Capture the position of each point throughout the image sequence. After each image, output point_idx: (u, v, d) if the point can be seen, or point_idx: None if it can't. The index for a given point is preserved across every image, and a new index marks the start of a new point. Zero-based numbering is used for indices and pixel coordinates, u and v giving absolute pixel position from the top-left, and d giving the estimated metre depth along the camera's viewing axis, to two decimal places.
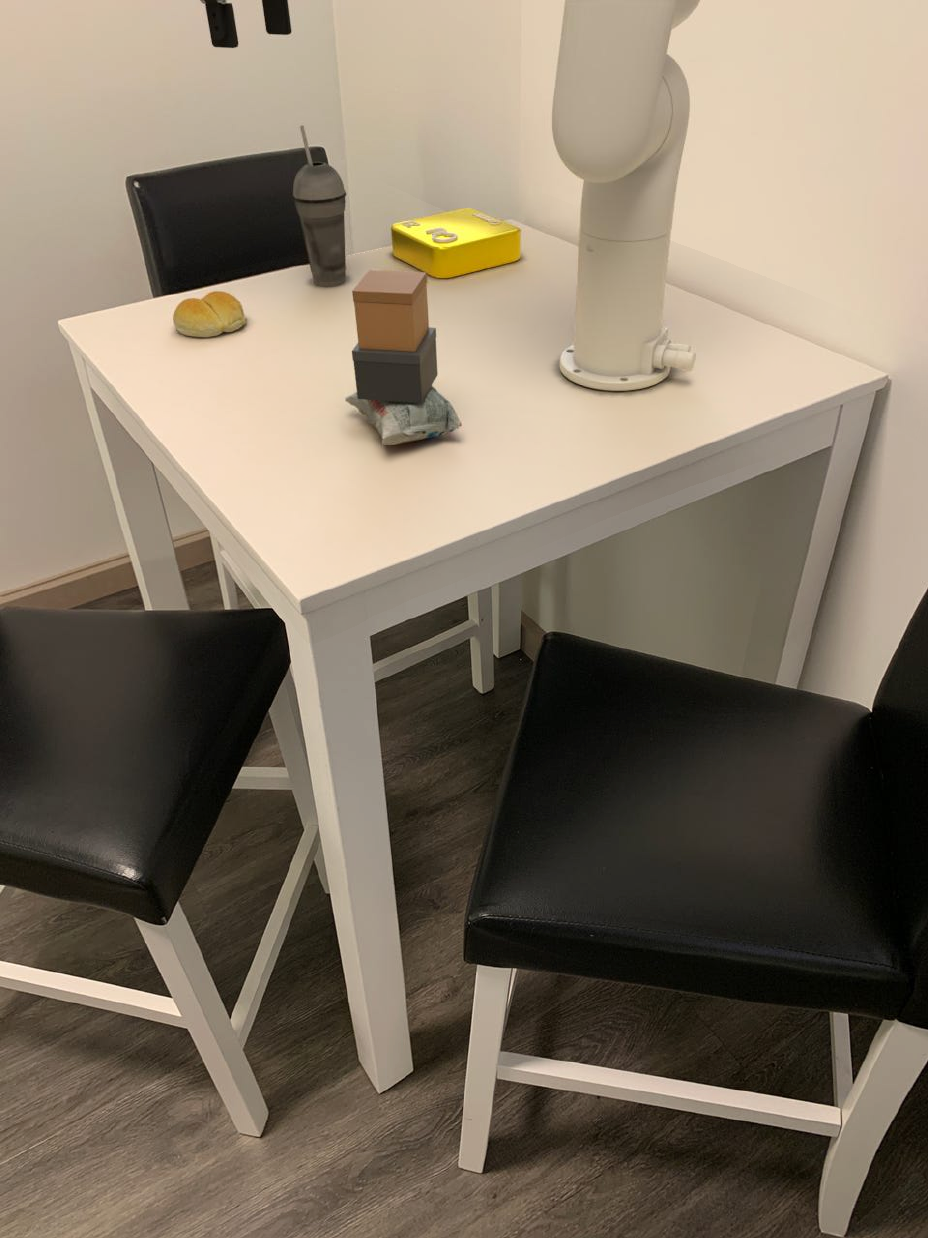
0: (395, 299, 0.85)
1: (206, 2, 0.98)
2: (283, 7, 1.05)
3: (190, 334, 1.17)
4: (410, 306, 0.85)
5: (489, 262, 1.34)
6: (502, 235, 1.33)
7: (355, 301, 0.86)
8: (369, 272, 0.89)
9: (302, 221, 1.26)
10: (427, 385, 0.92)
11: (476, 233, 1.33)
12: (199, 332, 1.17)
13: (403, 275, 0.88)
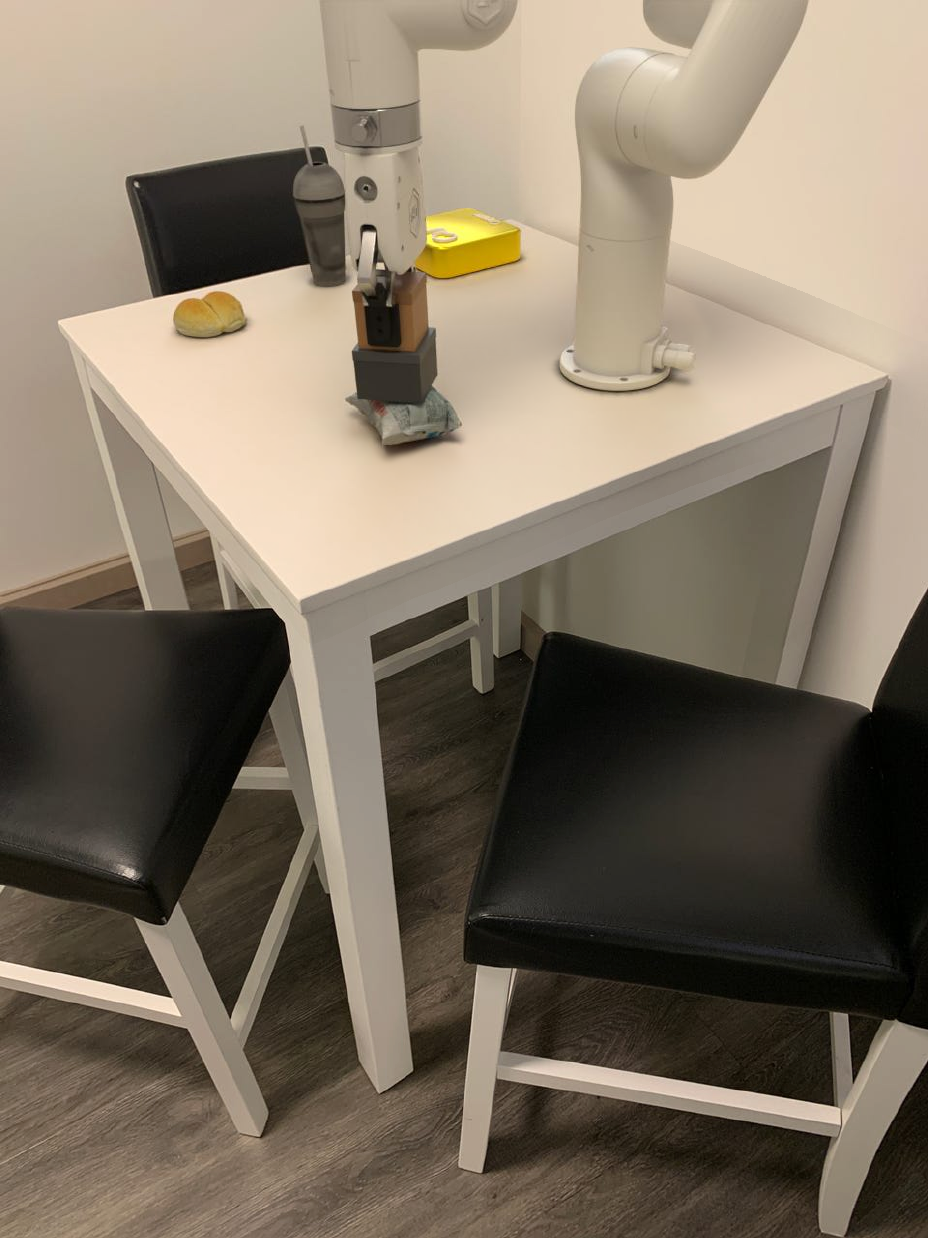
0: (395, 299, 0.85)
1: (369, 306, 0.85)
2: None
3: (190, 334, 1.17)
4: (410, 306, 0.85)
5: (489, 262, 1.34)
6: (502, 235, 1.33)
7: (355, 301, 0.86)
8: None
9: (302, 221, 1.26)
10: (427, 385, 0.92)
11: (476, 233, 1.33)
12: (199, 332, 1.17)
13: (403, 275, 0.88)
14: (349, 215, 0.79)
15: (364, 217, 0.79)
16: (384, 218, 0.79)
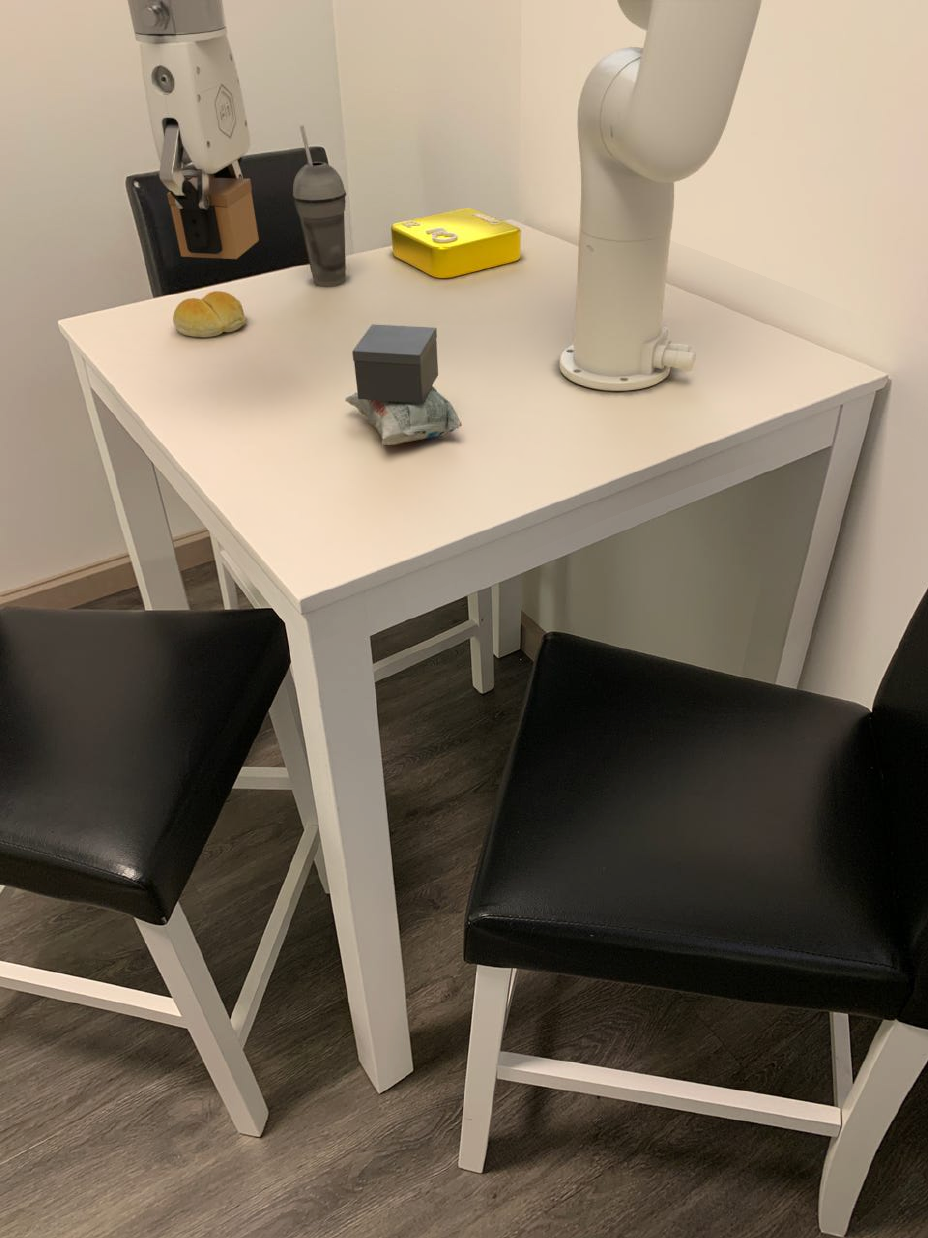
0: (210, 201, 0.83)
1: (183, 208, 0.83)
2: None
3: (190, 334, 1.17)
4: (226, 208, 0.83)
5: (489, 261, 1.34)
6: (502, 235, 1.33)
7: (171, 204, 0.84)
8: (192, 178, 0.87)
9: (302, 221, 1.26)
10: (428, 385, 0.92)
11: (476, 233, 1.33)
12: (199, 332, 1.17)
13: (225, 180, 0.86)
14: (150, 108, 0.77)
15: (164, 110, 0.77)
16: (184, 111, 0.77)
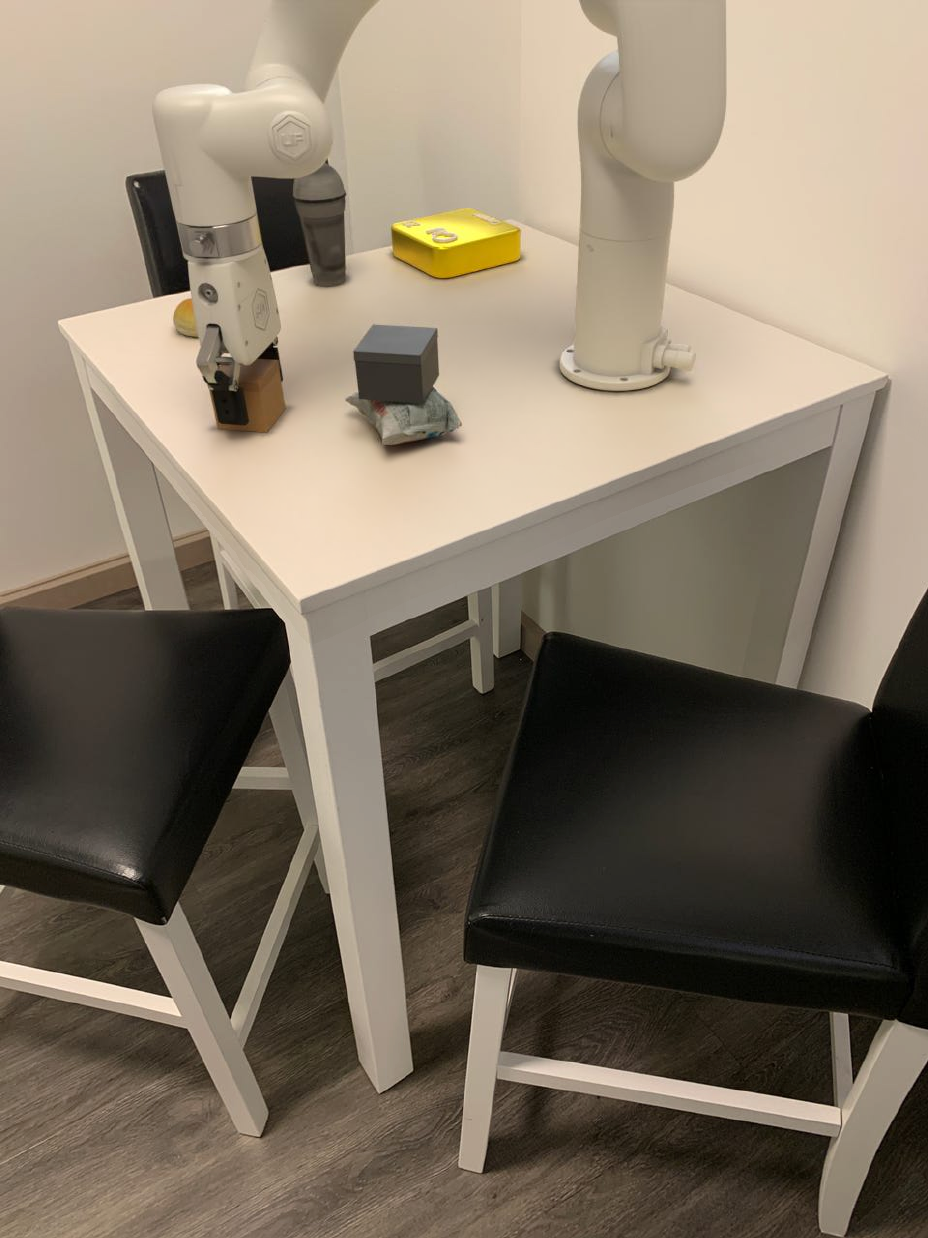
0: (245, 387, 0.95)
1: (215, 390, 0.92)
2: None
3: (190, 334, 1.17)
4: (258, 393, 0.95)
5: (489, 261, 1.34)
6: (502, 235, 1.33)
7: None
8: None
9: (302, 221, 1.26)
10: (428, 385, 0.92)
11: (476, 233, 1.33)
12: None
13: (256, 363, 0.98)
14: (196, 315, 0.89)
15: (209, 317, 0.88)
16: (226, 318, 0.88)
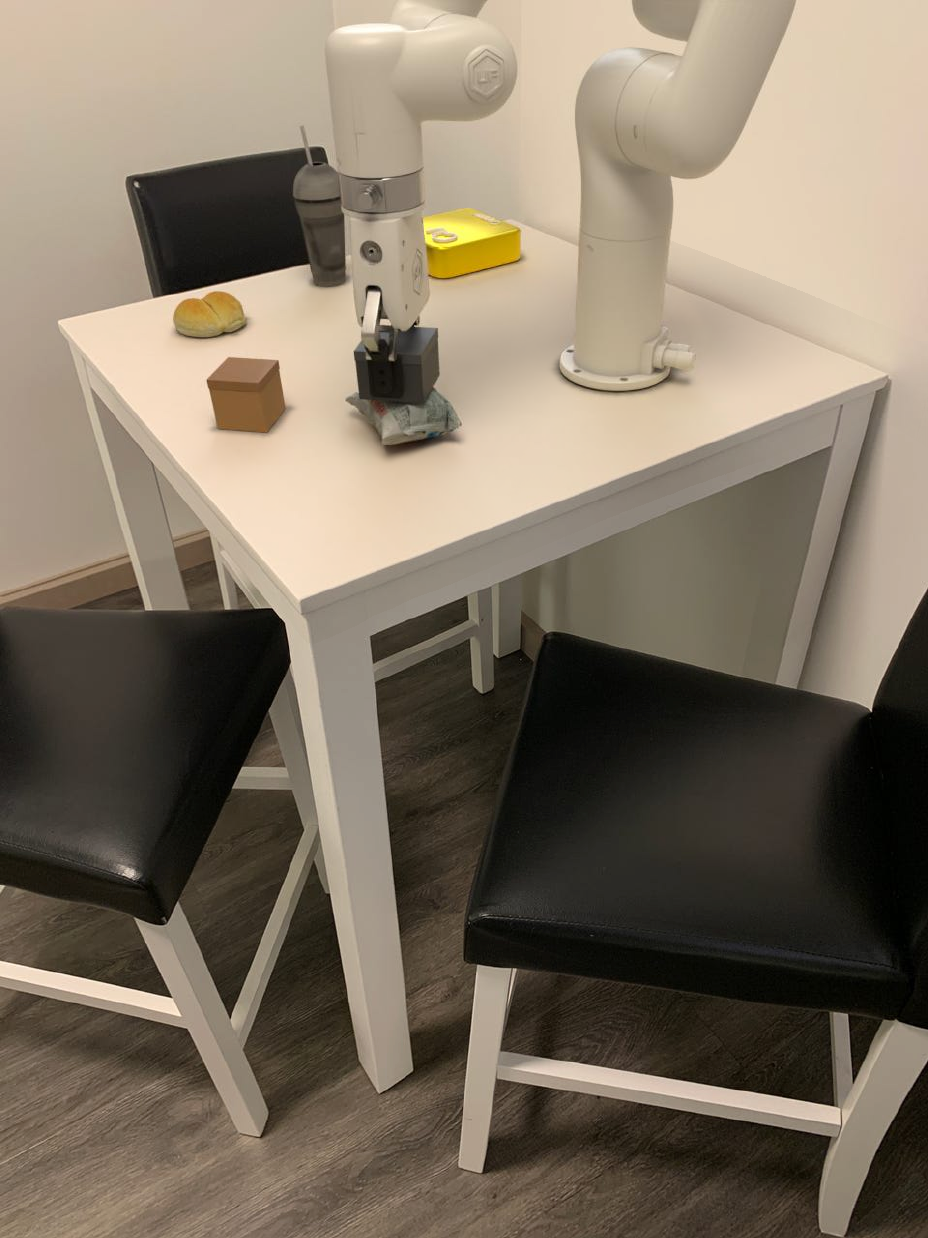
0: (245, 387, 0.95)
1: (372, 360, 0.87)
2: None
3: (190, 334, 1.17)
4: (258, 393, 0.95)
5: (489, 261, 1.34)
6: (502, 235, 1.33)
7: (210, 388, 0.95)
8: (227, 359, 0.99)
9: (302, 221, 1.26)
10: (429, 385, 0.92)
11: (476, 233, 1.33)
12: (199, 332, 1.17)
13: (256, 363, 0.98)
14: (355, 276, 0.83)
15: (369, 278, 0.82)
16: (389, 279, 0.82)
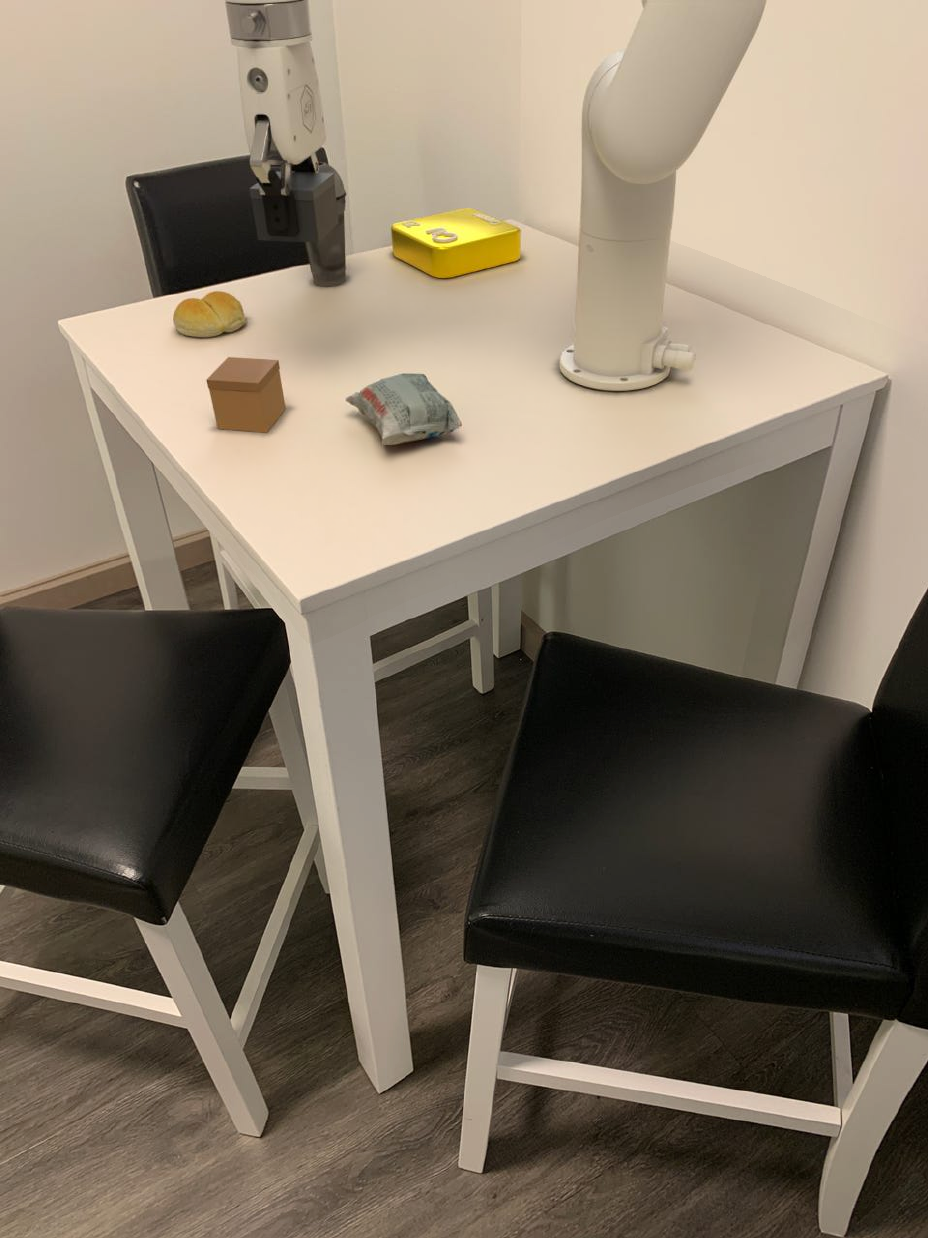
0: (245, 387, 0.95)
1: (266, 195, 0.92)
2: None
3: (190, 334, 1.17)
4: (258, 393, 0.95)
5: (489, 261, 1.34)
6: (502, 235, 1.33)
7: (210, 388, 0.95)
8: (227, 359, 0.99)
9: None
10: (325, 227, 0.96)
11: (476, 233, 1.33)
12: (199, 332, 1.17)
13: (256, 363, 0.98)
14: (244, 106, 0.87)
15: (257, 107, 0.86)
16: (275, 108, 0.86)
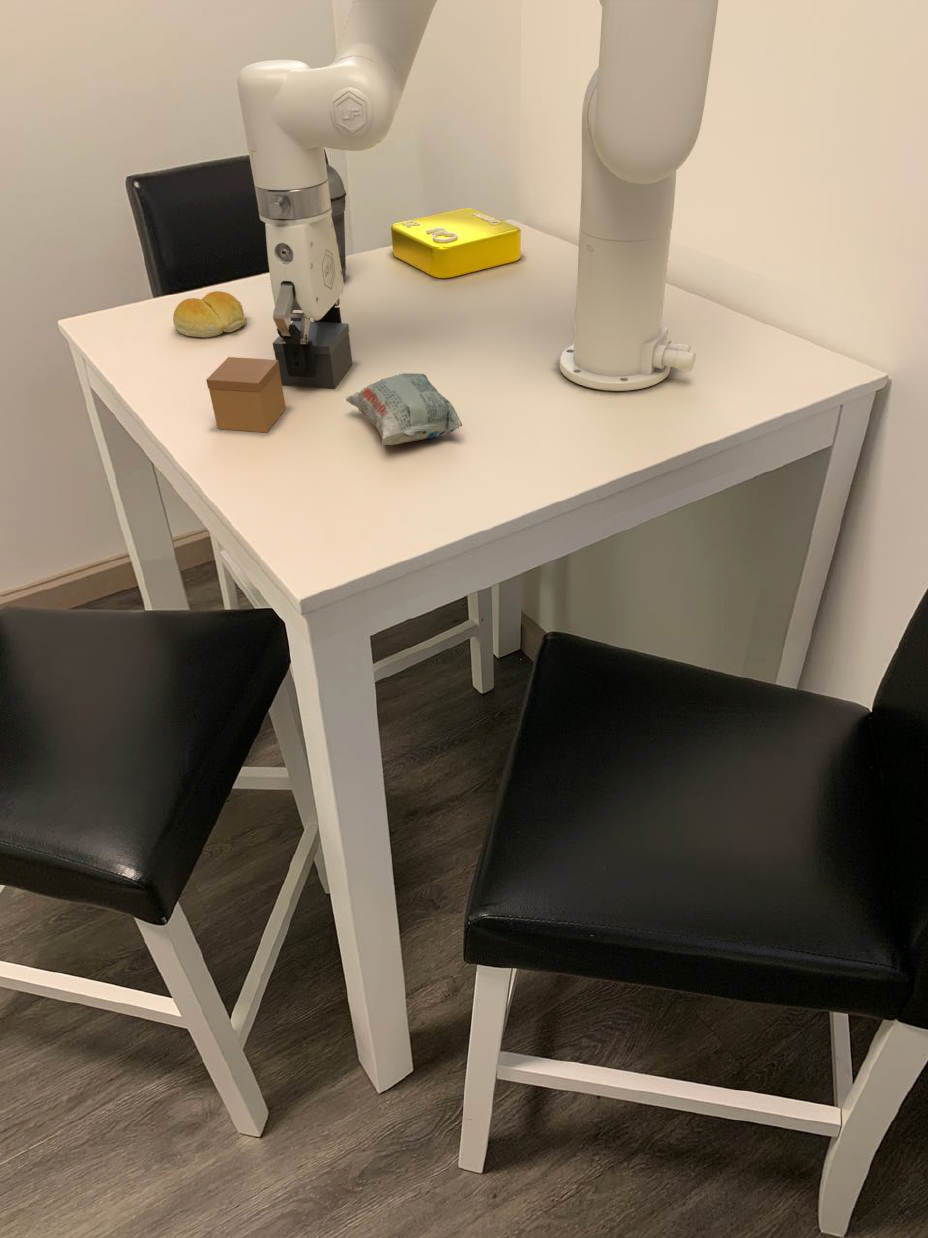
0: (245, 387, 0.95)
1: (286, 343, 1.00)
2: (337, 321, 1.08)
3: (190, 334, 1.17)
4: (258, 393, 0.95)
5: (489, 261, 1.34)
6: (502, 235, 1.33)
7: (210, 388, 0.95)
8: (227, 359, 0.99)
9: None
10: (340, 373, 1.06)
11: (476, 233, 1.33)
12: (199, 332, 1.17)
13: (256, 363, 0.98)
14: (272, 273, 0.97)
15: (284, 275, 0.96)
16: (300, 276, 0.96)
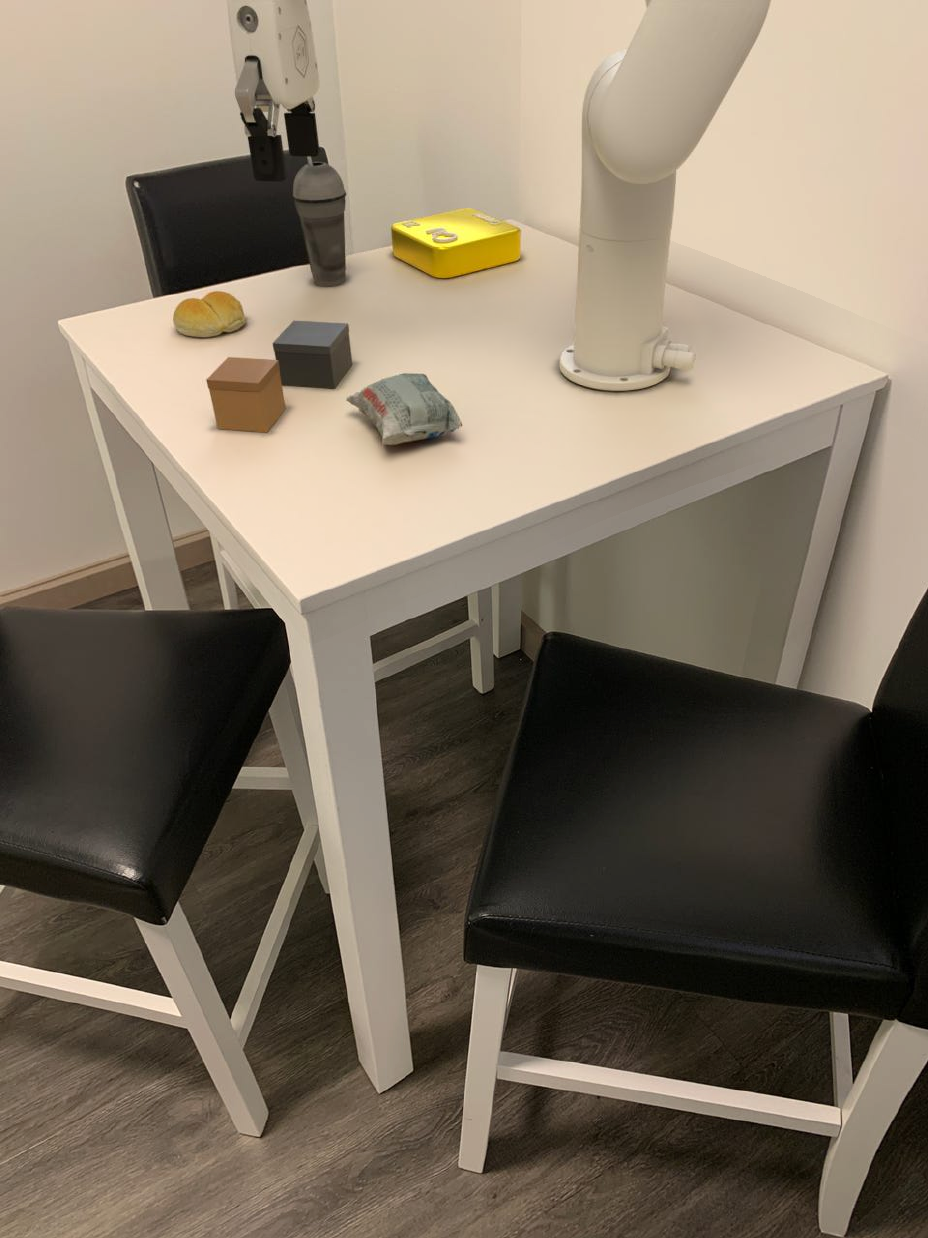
0: (245, 387, 0.95)
1: (252, 136, 0.87)
2: (312, 129, 0.96)
3: (190, 334, 1.17)
4: (258, 393, 0.95)
5: (489, 261, 1.34)
6: (502, 235, 1.33)
7: (210, 388, 0.95)
8: (227, 359, 0.99)
9: (302, 221, 1.26)
10: (340, 373, 1.06)
11: (476, 233, 1.33)
12: (199, 332, 1.17)
13: (256, 363, 0.98)
14: (234, 47, 0.84)
15: (248, 48, 0.84)
16: (266, 48, 0.83)
